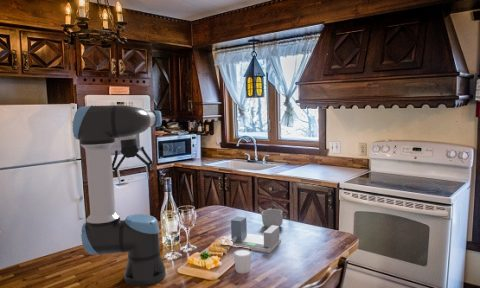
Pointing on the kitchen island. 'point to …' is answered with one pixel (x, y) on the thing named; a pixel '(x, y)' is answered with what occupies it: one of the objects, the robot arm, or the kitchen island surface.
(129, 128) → the robot arm
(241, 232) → the block
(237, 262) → the white cylinder
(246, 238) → the board
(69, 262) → the kitchen island surface
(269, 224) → the teacup
